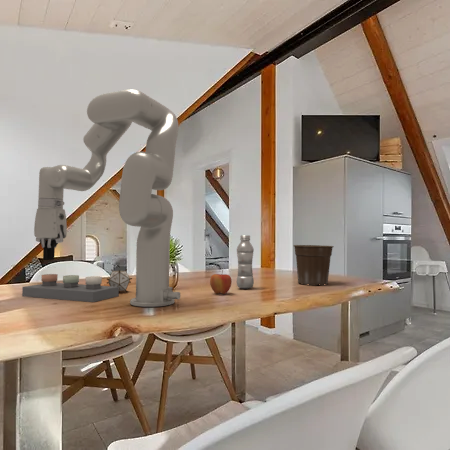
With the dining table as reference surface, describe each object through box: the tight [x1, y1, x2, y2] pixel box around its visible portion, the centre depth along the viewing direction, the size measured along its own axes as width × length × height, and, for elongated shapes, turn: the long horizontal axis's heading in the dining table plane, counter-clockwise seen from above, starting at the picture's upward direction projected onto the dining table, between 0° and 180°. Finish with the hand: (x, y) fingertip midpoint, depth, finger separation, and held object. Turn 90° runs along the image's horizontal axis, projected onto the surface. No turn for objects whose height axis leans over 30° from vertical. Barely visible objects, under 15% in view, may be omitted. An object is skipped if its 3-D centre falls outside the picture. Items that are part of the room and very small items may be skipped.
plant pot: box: [293, 244, 334, 286], centre depth 154 cm, size 16×16×16 cm
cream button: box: [84, 275, 103, 290], centre depth 116 cm, size 5×5×5 cm
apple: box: [209, 270, 232, 295], centre depth 125 cm, size 7×7×8 cm
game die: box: [106, 268, 133, 293], centre depth 128 cm, size 9×8×10 cm
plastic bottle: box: [236, 234, 255, 290], centre depth 138 cm, size 6×7×20 cm
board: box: [21, 282, 120, 303], centre depth 119 cm, size 28×12×3 cm, turn 70°
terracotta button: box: [40, 273, 58, 286], centre depth 122 cm, size 5×5×5 cm
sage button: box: [62, 274, 80, 288], centre depth 119 cm, size 5×5×5 cm
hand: (48, 259), depth 123 cm, fingers closed
